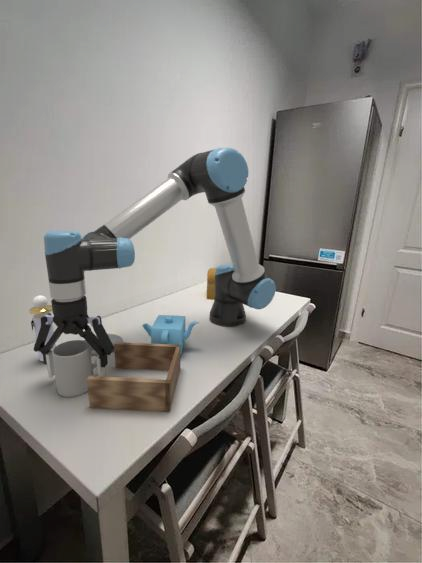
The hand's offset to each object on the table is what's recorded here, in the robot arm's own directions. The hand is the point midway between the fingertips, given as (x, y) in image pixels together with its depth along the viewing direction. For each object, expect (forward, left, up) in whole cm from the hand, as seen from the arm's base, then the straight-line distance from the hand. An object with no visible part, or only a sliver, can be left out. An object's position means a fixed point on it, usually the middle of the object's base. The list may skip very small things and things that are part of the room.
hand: (77, 376), depth 72 cm
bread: (-42, -77, -2) cm, 87 cm away
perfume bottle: (+14, -10, -2) cm, 17 cm away
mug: (-1, 0, -2) cm, 2 cm away
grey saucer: (+2, -20, -2) cm, 20 cm away
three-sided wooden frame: (-16, 0, -2) cm, 16 cm away
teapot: (-21, -19, -2) cm, 28 cm away
